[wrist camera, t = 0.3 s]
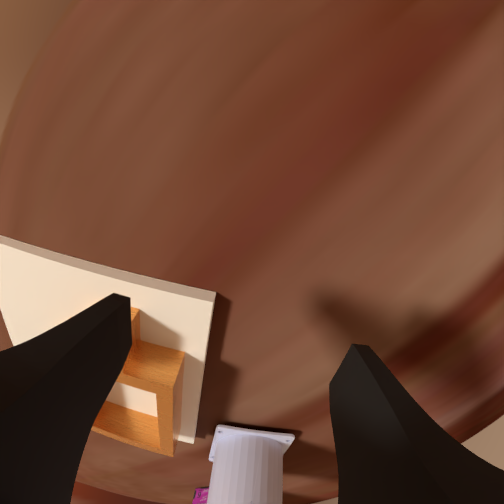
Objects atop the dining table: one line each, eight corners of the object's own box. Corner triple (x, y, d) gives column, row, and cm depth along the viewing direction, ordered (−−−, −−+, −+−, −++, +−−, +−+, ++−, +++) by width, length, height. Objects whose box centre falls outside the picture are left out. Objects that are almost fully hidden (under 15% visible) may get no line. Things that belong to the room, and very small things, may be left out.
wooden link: (180, 428, 25) (173, 457, 22) (92, 400, 25) (80, 425, 22) (187, 321, 19) (173, 358, 16) (64, 286, 19) (38, 313, 16)
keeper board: (195, 435, 28) (184, 488, 21) (34, 376, 27) (9, 414, 21) (216, 292, 19) (193, 370, 13) (-9, 232, 19) (-60, 266, 12)
